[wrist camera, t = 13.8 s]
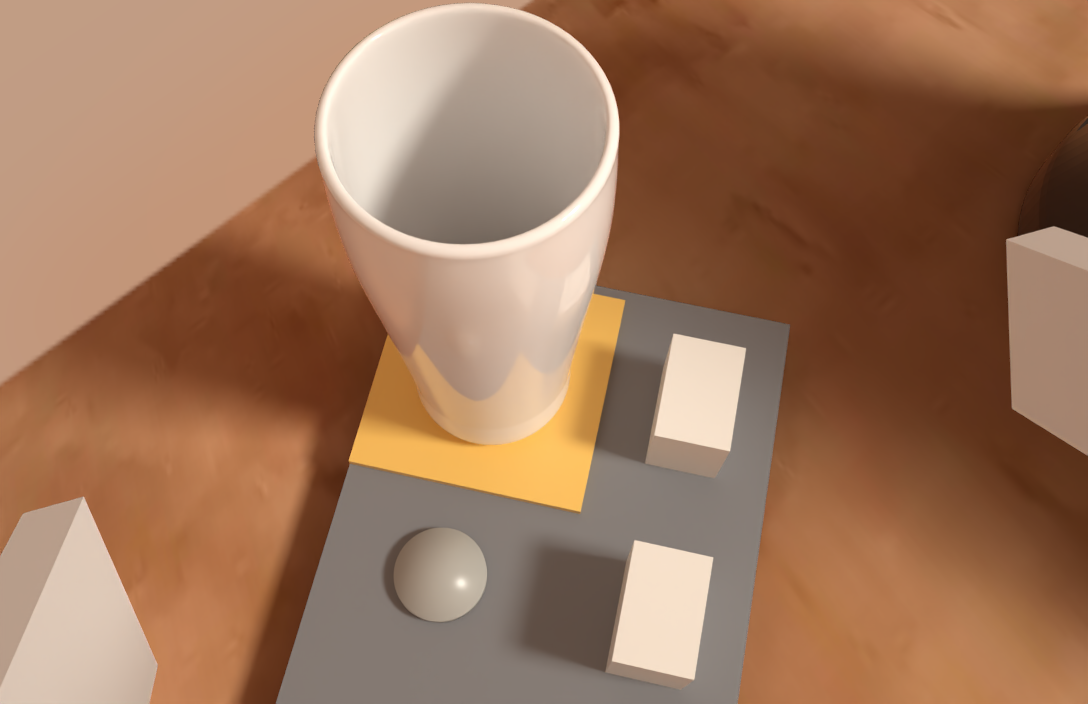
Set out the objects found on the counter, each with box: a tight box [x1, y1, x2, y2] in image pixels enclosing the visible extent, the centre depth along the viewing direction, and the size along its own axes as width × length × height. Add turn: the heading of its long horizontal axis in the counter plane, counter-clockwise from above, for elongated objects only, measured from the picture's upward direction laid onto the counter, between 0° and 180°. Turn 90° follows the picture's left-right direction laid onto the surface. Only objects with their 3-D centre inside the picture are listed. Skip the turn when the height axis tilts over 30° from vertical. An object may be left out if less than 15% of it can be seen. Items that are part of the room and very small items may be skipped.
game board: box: [276, 286, 790, 704], centre depth 32 cm, size 14×23×4 cm, turn 167°
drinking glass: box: [314, 3, 619, 445], centre depth 29 cm, size 7×7×15 cm
